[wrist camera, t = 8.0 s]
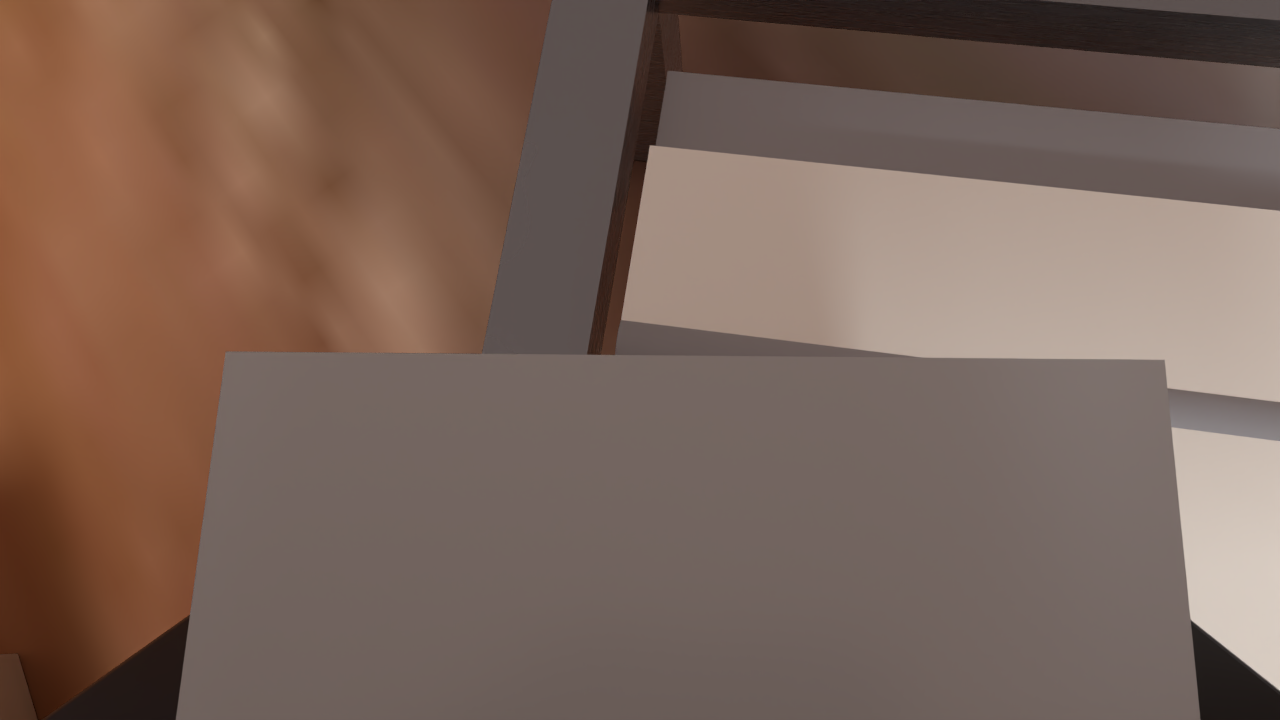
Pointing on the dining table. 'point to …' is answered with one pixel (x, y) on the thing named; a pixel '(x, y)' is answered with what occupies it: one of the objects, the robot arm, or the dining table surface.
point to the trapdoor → (991, 271)
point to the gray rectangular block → (689, 540)
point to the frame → (650, 47)
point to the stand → (14, 690)
